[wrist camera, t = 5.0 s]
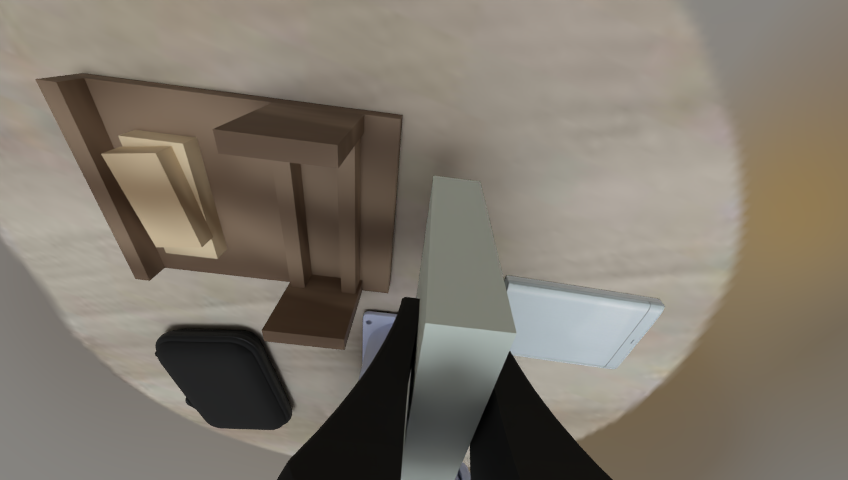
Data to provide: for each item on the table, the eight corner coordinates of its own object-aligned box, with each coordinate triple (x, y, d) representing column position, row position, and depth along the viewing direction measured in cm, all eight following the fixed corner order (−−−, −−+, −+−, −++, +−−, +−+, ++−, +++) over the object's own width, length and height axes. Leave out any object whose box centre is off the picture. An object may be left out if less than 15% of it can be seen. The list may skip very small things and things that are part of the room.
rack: (389, 284, 26) (376, 353, 20) (161, 258, 25) (84, 321, 20) (402, 115, 18) (386, 151, 13) (82, 73, 18) (-73, 93, 13)
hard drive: (480, 352, 28) (615, 372, 29) (508, 284, 24) (668, 309, 24) (478, 337, 30) (607, 357, 30) (505, 270, 25) (656, 294, 26)
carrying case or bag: (149, 319, 30) (212, 406, 38) (122, 347, 27) (196, 433, 35) (261, 321, 29) (300, 409, 37) (244, 349, 27) (290, 437, 35)
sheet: (447, 323, 19) (450, 489, 12) (413, 320, 19) (397, 484, 12) (480, 181, 14) (516, 333, 7) (433, 175, 14) (425, 322, 7)
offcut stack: (229, 249, 23) (209, 270, 21) (175, 242, 23) (150, 263, 21) (199, 137, 19) (170, 151, 17) (132, 129, 19) (95, 141, 17)
